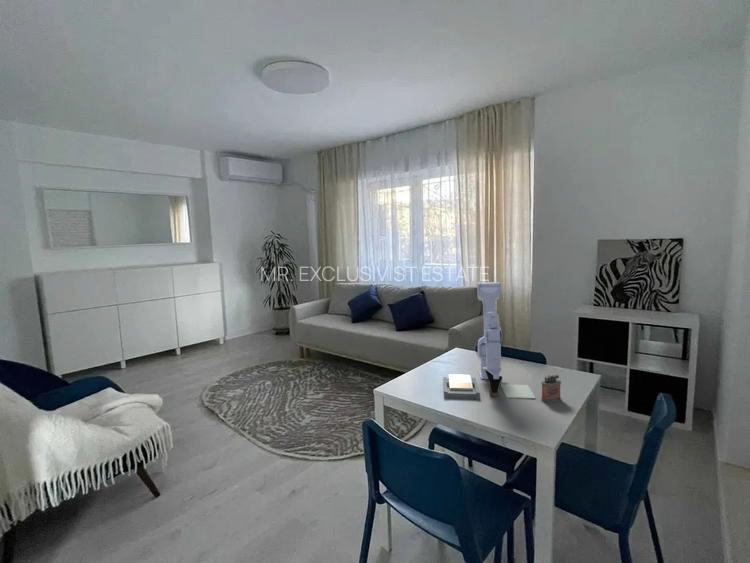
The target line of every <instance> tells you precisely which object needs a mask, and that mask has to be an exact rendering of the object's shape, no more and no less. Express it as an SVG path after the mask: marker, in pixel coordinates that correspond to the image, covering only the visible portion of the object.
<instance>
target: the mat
mask: <svg viewBox="0 0 750 563" xmlns="http://www.w3.org/2000/svg"><path fill="white" fill-rule="evenodd" d="M500 387H501V389H502V392H503V394H504V396H505V398H506V399H519V400H521V399H524V400H536V399H537V398H536V395H534V393H533V391H532V390H531V388H530V387H529V385H528V384H501V383H500Z"/></svg>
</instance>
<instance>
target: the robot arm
mask: <svg viewBox="0 0 750 563" xmlns="http://www.w3.org/2000/svg"><path fill="white" fill-rule="evenodd" d="M476 291H477V292H476V294H477V299H478V300H479V301H481V302H482V306H483V307H482V309H483V310H482V311H483V336H482V337H480V338H478V341H477V356H478V357H479V358H480V370H479V371H478V373H479V377H480V379H481V380H488V382H489V381H490V386H491V391H492V393H497V392H498V393H499V387H500V385H501V382H502V380H503V376H502V375H500V373H501V372H502V350H501V348H502V343H503V330H502V326H501V324H500V315H499V314H498V313H497V312H496V309H497V308H496V302H497V300H499V298H500V296H501V294H502V286H501V282H500V281H494V282H492V281H489V282H487V281H485V282H484V281H483V282H480V281H478V282H477V286H476Z"/></svg>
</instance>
